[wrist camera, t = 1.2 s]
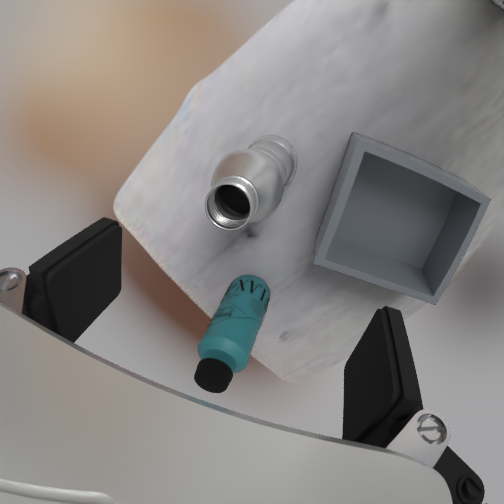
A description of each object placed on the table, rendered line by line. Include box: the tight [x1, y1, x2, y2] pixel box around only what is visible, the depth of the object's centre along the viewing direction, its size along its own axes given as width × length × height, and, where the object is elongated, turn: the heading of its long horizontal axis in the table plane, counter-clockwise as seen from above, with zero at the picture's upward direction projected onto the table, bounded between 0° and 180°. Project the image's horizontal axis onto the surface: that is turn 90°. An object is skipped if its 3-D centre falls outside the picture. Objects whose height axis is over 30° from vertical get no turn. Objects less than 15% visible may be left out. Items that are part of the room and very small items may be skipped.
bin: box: [313, 132, 491, 305], centre depth 35 cm, size 15×17×8 cm
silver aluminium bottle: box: [205, 135, 297, 231], centre depth 31 cm, size 6×7×20 cm
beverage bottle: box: [194, 275, 271, 393], centre depth 41 cm, size 6×7×20 cm
